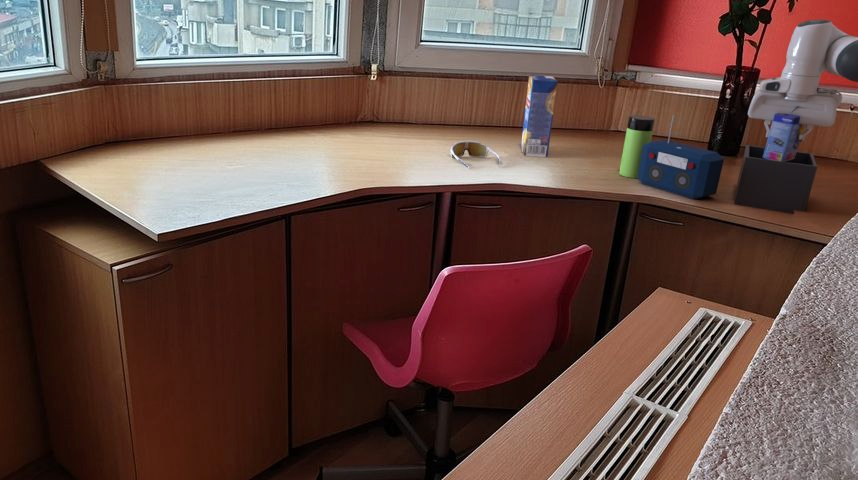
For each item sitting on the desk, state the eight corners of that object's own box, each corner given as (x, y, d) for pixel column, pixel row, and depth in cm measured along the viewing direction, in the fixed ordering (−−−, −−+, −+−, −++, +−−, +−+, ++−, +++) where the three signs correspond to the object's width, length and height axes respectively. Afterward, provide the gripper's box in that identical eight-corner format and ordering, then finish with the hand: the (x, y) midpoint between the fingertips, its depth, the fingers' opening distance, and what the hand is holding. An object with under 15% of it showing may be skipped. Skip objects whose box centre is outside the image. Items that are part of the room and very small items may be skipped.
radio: (633, 182, 207) (646, 113, 199) (652, 179, 212) (665, 111, 204) (698, 202, 191) (714, 127, 184) (717, 197, 196) (733, 125, 189)
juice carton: (547, 157, 231) (557, 81, 222) (524, 155, 231) (533, 79, 222) (542, 148, 242) (552, 76, 233) (520, 147, 243) (529, 74, 234)
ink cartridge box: (783, 163, 186) (797, 107, 181) (761, 159, 190) (775, 104, 185) (796, 159, 193) (811, 104, 187) (775, 154, 196) (789, 101, 191)
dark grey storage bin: (800, 198, 200) (812, 153, 195) (803, 215, 185) (817, 166, 180) (735, 188, 206) (746, 144, 202) (734, 204, 191) (745, 157, 187)
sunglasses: (484, 154, 229) (487, 140, 227) (504, 173, 217) (507, 158, 214) (443, 156, 225) (445, 141, 222) (461, 175, 213) (464, 159, 210)
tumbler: (618, 171, 219) (627, 114, 213) (643, 173, 218) (653, 115, 211) (620, 177, 212) (630, 118, 206) (646, 179, 211) (657, 120, 204)
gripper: (843, 89, 183) (827, 142, 188) (755, 80, 191) (742, 132, 196) (845, 91, 177) (830, 147, 183) (755, 83, 185) (742, 136, 190)
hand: (784, 139), depth 189 cm, fingers closed on ink cartridge box, 6 cm apart
